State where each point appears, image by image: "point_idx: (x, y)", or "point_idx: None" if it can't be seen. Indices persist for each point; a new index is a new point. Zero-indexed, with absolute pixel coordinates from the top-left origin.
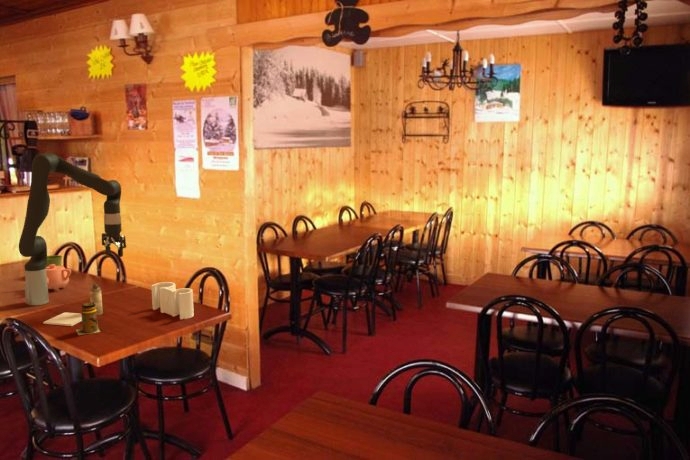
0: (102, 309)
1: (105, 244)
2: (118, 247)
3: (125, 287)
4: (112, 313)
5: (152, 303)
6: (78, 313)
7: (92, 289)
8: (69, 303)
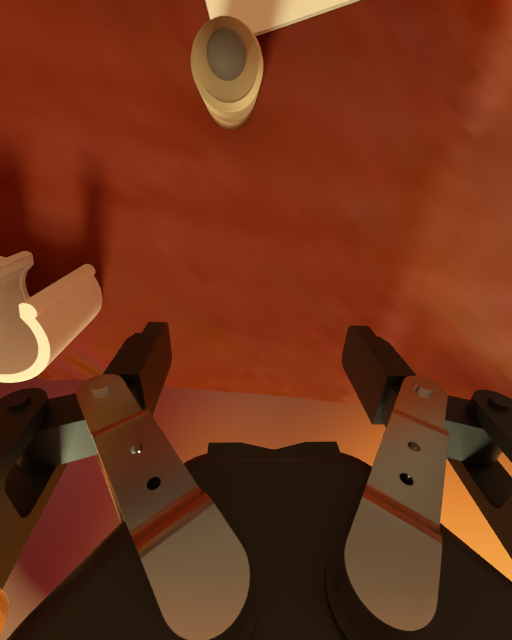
0: (213, 118)
1: (430, 407)
2: (96, 398)
3: None
4: (173, 140)
5: (78, 272)
6: (288, 20)
7: (218, 17)
8: (453, 153)
